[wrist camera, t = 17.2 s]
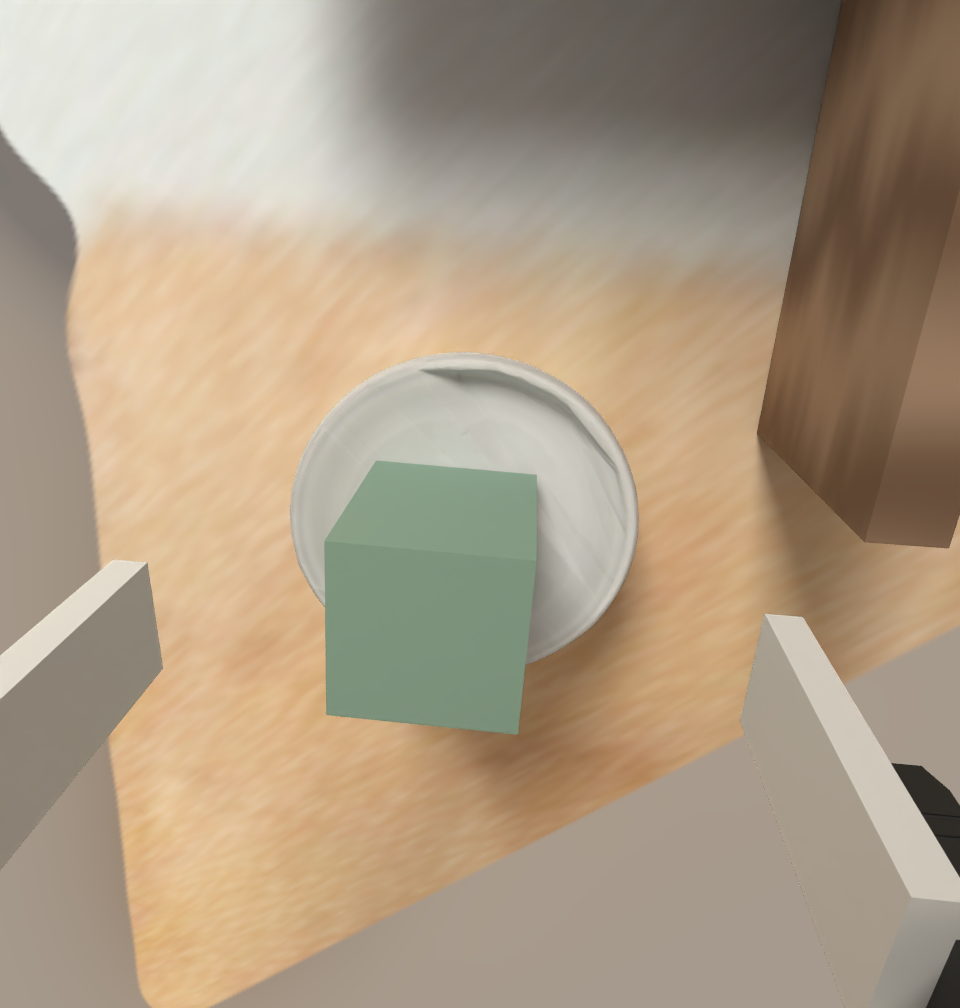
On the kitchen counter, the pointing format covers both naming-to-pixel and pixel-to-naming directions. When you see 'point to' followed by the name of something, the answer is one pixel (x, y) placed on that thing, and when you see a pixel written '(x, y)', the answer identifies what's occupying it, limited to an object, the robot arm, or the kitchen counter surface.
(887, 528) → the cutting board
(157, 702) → the kitchen counter surface
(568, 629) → the ramekin
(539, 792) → the kitchen counter surface
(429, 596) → the block
